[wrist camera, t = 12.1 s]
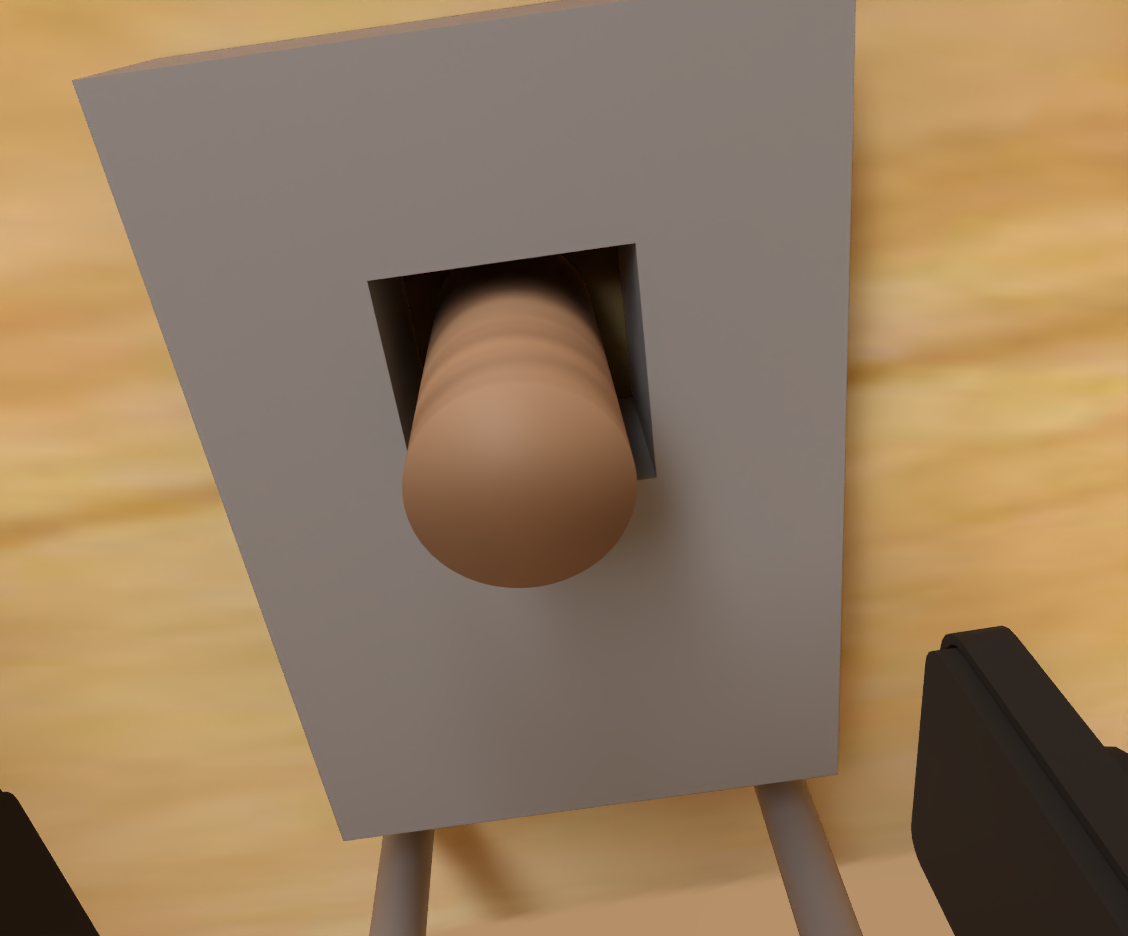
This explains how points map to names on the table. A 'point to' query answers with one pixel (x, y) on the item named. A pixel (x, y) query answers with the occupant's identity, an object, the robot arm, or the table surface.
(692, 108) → the socket block
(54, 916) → the robot arm
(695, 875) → the table surface
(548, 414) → the walnut peg
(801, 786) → the pink topped stand
